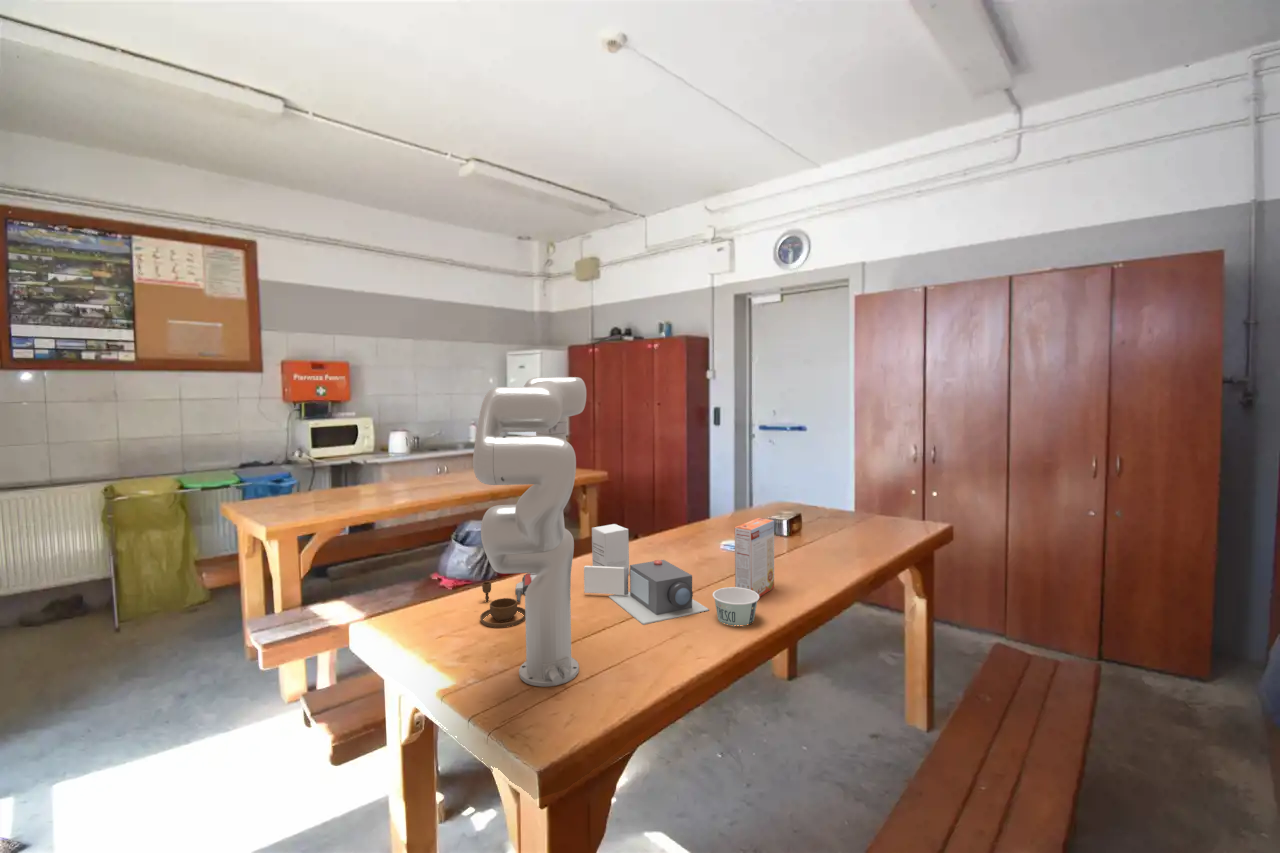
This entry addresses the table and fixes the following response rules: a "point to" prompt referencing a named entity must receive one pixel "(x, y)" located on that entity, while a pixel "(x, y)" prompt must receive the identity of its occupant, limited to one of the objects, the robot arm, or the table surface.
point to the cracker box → (755, 555)
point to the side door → (606, 580)
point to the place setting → (501, 609)
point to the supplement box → (610, 546)
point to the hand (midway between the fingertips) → (552, 503)
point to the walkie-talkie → (524, 585)
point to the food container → (735, 605)
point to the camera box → (658, 593)
